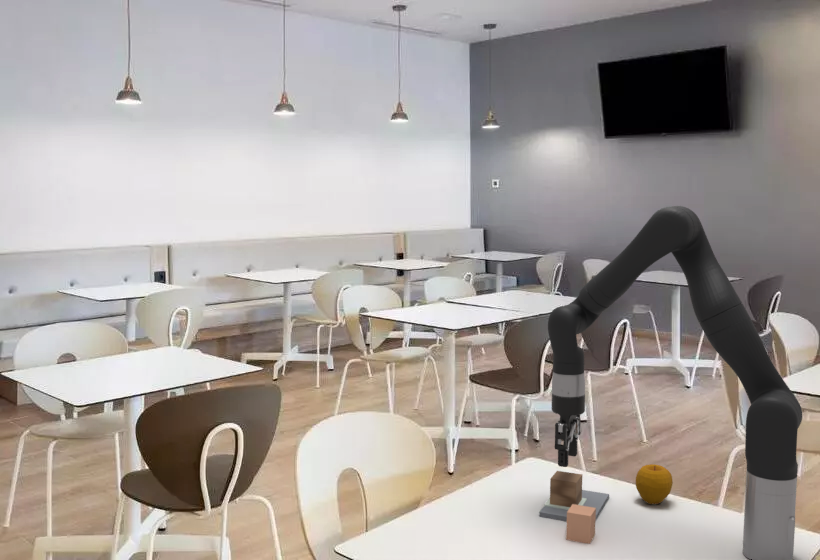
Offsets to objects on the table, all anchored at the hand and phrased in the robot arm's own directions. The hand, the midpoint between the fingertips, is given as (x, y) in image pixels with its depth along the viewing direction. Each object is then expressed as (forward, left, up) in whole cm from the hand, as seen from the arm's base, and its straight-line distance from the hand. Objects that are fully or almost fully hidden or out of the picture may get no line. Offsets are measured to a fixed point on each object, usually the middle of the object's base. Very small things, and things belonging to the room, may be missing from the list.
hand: (567, 460), depth 187 cm
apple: (-18, -12, -11) cm, 24 cm away
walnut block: (0, 0, -10) cm, 10 cm away
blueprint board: (-2, -1, -11) cm, 11 cm away
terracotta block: (-7, +15, -11) cm, 20 cm away
